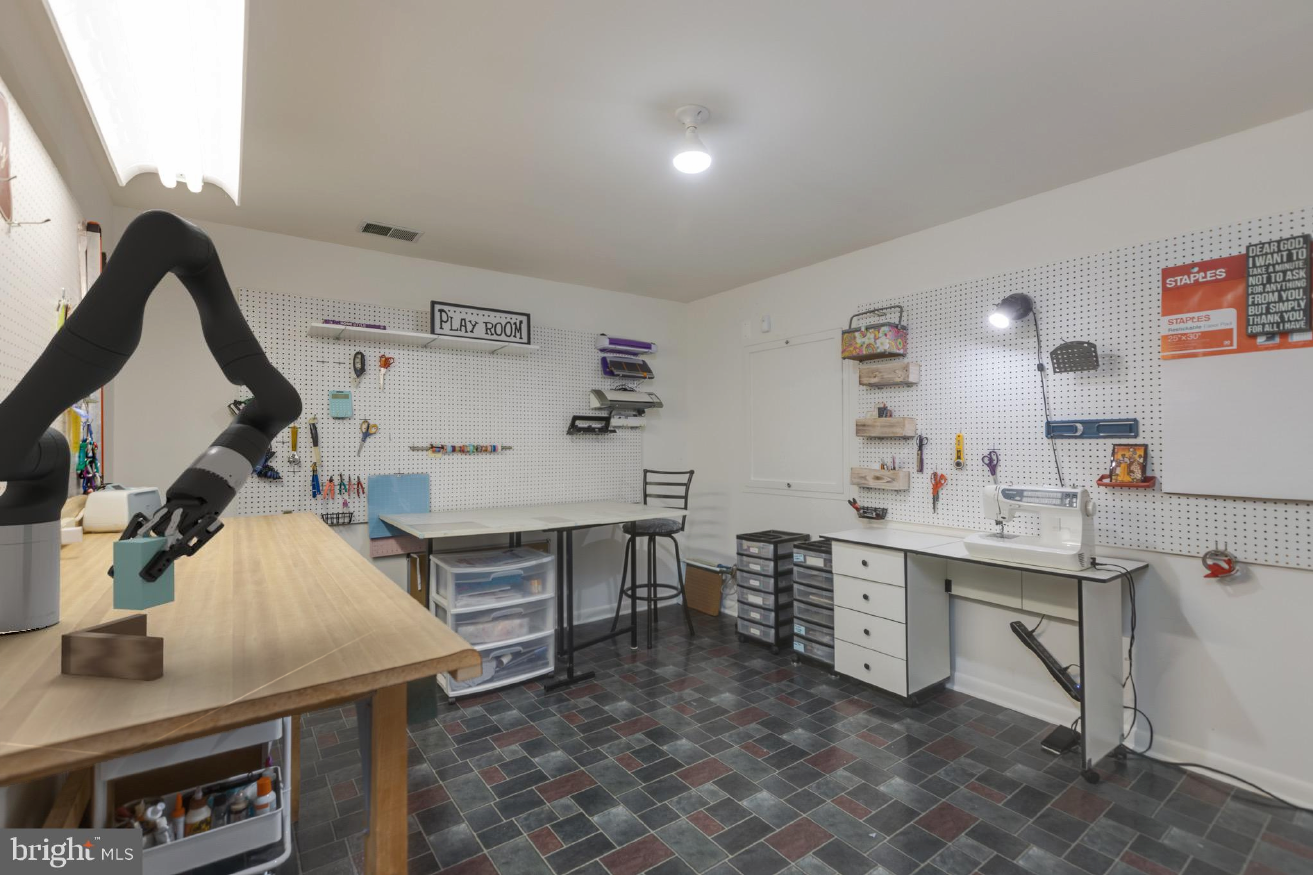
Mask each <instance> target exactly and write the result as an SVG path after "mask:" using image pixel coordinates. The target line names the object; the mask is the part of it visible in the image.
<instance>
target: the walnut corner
mask: <svg viewBox="0 0 1313 875" xmlns="http://www.w3.org/2000/svg"><path fill="white" fill-rule="evenodd" d="M147 621H148V614H147V613H136V614H132V615H127V616H124V617H121V618H117V619H114V620H110V621H107V622H103V623H99V624H96V625H92V626H89V627H85V628H82V629H78V630H75V631H70V632H67V633H64V634H61V638H60V639H61V641H60V642H61V644H60V645H61V647H60V648H61V650H60V651H61V653H60V654H61V655H60V658H61V659H60V673H61V674H66V675H67V674H69V675H80V676H91V677H104V678H105V677H106V678H115V679H126V680H127V679H129V680H140V681H154V680H157V679H159V678H161V677H164V640H165V638H164V637H160V636H149V635H147V632H148V631H147V629H148V628H147V627H148V622H147Z"/></svg>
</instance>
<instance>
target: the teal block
mask: <svg viewBox="0 0 1313 875" xmlns="http://www.w3.org/2000/svg"><path fill="white" fill-rule="evenodd" d="M166 540H167V538H166V537H158V536H153V537H143V538H135V539H132V538H131V539H128V540H122V541H118V540H117V541H113V543H112V546H113V548H112V549H113V550H112V551H113V552H112V558H113V560H112V562H113V564H112V565H113V569H114V576H113V578H112V579H113V584H112V585H113V586H112V587H113V588H112V589H113V590H112V591H113V592H112V594H113V595H112V596H113V597H112V598H113V600H112V601H113V603H112V606H113V608H112V609H113V610H126V611H128V610H131V611H145V610H147V609H151V608H155V607H157V606H161V605H164V604H165V605H166V604H168V603H172V602H175V560H174V561H173V562H172V563H171V564H170V566H169V567H168V568H167V569H166V571H164V573H163V574H162V575H161V576H160V577H159V578H158V579H157V580H156V581H155V582H147V581H145V580H144V579H143V578H141V577H140V576H139V572H140V571H141V570H142V569H143V568H144V567H145V566H146V564H147V563H148V562H149V561H150V560H151V558H152V557H153V556H154V555H155V554H156V553H157V551H161V552H162V550H161V547H162V545H163V543H164V542H165V541H166Z"/></svg>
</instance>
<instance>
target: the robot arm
mask: <svg viewBox="0 0 1313 875" xmlns="http://www.w3.org/2000/svg"><path fill="white" fill-rule="evenodd" d="M168 273H171V274H173V275H174V276H175V277H176V278H177V280H178V281H180V283H181V284H182V285H183V286H184V288H185V289H186V290H187V292H188V293H189V295H190V296H191V298H192V300H193V301H194V303H195V306H196V308H197V311H198V315H199V319H200V320H199V321H200V325H201V330H202V335H203V338H204V340H205V343H206V345H207V347H208V349H209V351H210V353H211V355H212V356H213V358H214V360H215V362H216V363H217V366H218V367H219V368H220V371H221V372H222V373H223V375H224V376H225V378H226V380H227V381H228V382H229V383H230V384H232V385H234V386H241V387H242V386H243V387H244V386H245V387H246V388H247V389H248V390H249V391H250V393H251V394H252V395H253V397H252V398H251V399H250V400H249V401H247V402H246V403H245V404H244V405H243V406H242V408H241V409H240V410H239V411H238V412H237V413H236V415H235V416H234V417H233V419H232V420H231V422H230V423H229V425H228V426H227V428H226V429H224V430H223V431H222V432H221V433H220V434H218V436H217V437H216V438H215V439H214V441H213V442H212V443H210V445H209V446H208V447H207V448H206V449H205V450H204V451H203V452H201V453H200V454H199V455H198V456H197V457H196V458H194V460H193V461H192V462H191V463H190V464H189V465H188V466H187V468H185V469H184V471H183V472H182V473H181V474H180V475H179V477H178V478H177V479H176V480H175V481H174V482H173V483H172V484H171V486H169V487H168V488H167V490H166V491H165V499H166V500H165V502H164V503H165V504H163V505H162V506H161V507H159V508H157V509H156V510H155V511H154V512H153V513H151V514H146V515H145V514H144V513H143V512H142V511H138V512H136V513H135V514H133V516H132V517H131V519H130V520H129V523H128V524H127V526H126V527H125V529H124V531H123V532H122V533H121V535H120V537H119V539H118V540H117V541H122V540H128V539H135V538H143V537H154V535H156V537H166V538H167V540H166V541H165V542H164V543H163V545H162V547H161V550H162V552H161V551H157V553H156V554H155V555H154V556H153V557H152V558H151V560H150V561H149V562H148V563H147V564H146V566H145V567H144V568H143V569H142V570H141V571H140V572H139V576H140V577H141V578H143V579H144V580H145V581H147V582H155V581H156V580H157V579H158V578H159V577H160V576H161V575H162V574H163V573H164V571H166V569H167V568H168V567H169V566H170V564H171V563H172V562H173V561H174V562H175V561H177V560H179V559H181V557H182V556H186V557H188V558H190V557H192V556H194V555H195V554H196V553H197V552H198V551H199V550H200V549H201V548H203V547H204V546H205V545H206V544H207V543H208V542H209V541H210V540H211V539H213V538H214V537H215V536H216V535H217V534H218V533H219V532H220V531H221V530H222V529H223V528H224V527H225V523H223V521H221V519H219V517H220V516H221V515H222V513H223V512H224V511H225V510H226V509H227V507H228V506H229V504H230V503H231V502H232V501H233V500H234V498H235V497H236V496H237V495H238V493H239V492H240V491H241V489H242V488H243V487H244V486H245V484H246V483H247V481H248V479H249V477H250V476H251V474H252V473H253V472H254V470H255V469H256V468H257V467H258V465H259V464H260V463H261V462H262V460H263V459H264V457H265V456H266V455H267V453H268V452H269V449H270V444H271V443H272V442H273V441H274V439H276V437H277V436H278V435H279V434H280V433H281V432H282V431H283V430H284V429H287V427H289V426H290V425H292V424H293V423H294V422H295V421H297V420H298V419H299V418H300V416H301V415H302V412H303V402H302V399H301V398H302V397H301V396H300V394H299V392H298V391H297V389H296V388H295V386H294V385H293V383H291V382H290V381H289V379H287V378H286V377H285V376H284V375H283V374H282V372H280V371H279V370H278V369H277V367H276V366H274V365H273V364H272V363H271V361H270V360H269V358H268V356H267V355H266V352H265V351H264V349H263V347H262V345H261V344H260V342H259V340H258V339H257V337H256V335H255V334H254V332H253V330H252V329H251V327H250V325H249V324H248V322H247V320H246V317H245V316H244V314H243V312H242V310H241V307H240V306H239V304H238V302H237V299H236V298H235V295H234V293H233V290H232V288H231V286H230V283H229V281H228V278H227V276H226V272H225V271H224V268H223V265H222V262H221V259H220V256H219V254H218V251H217V249H216V246H215V244H214V242H213V239H212V238H211V237H210V235H209V234H208V233H207V232H206V231H205V230H204V229H202V228H201V227H199V225H197V224H195V223H193V222H190V221H188V220H187V219H185V218H183V217H181V216H179V215H178V214H175V213H173V212H171V211H169V210H164V209H160V208H159V209H157V208H156V209H155V208H154V209H149V210H145V211H144V212H143V211H142V213H140V214H138V215H137V216H135V217H134V218H133V219H132V220H131V222H130V223H129V224H128V226H127V227H126V229H125V230H124V231H123V234H122V235H121V237H120V238H119V240H118V242H117V244H116V246H115V248H114V250H113V252H112V253H111V256H110V257H109V259H108V261H107V262H106V264H105V266H104V267H103V269H102V270H101V272H100V274H99V275H98V277H97V278H96V279H95V281H94V282H93V283H92V285H91V286H90V288H89V289H88V291H87V292H86V294H85V295H84V296H83V298H82V299H81V301H80V302H79V303H78V304H77V306H76V308H75V309H73V311H72V313H71V314H70V315H69V316H68V317H67V319H66V320H65V321H64V322H63V324H62V325H61V326H60V327H59V329H58V330H57V331H56V333H55V334H54V335H53V337H52V338H51V340H50V341H49V343H48V344H47V346H46V347H45V349H44V350H43V351H42V352H41V355H39V357H38V358H37V360H36V361H35V362H34V363H33V364H32V366H30V368H29V370H27V372H26V373H25V374H24V376H23V377H22V378H21V380H20V381H19V383H17V384H16V386H15V387H14V388H13V389H12V391H10V393H9V394H8V395H7V396H6V397H4V399H3V400H2V401H1V403H0V482H1V483H6V486H5V489H4V491H3V492H2V494H1V495H0V632H9V631H22V630H28V629H35V630H37V629H36V628H39V629H43V628H45V627H46V626H47V627H51V626H52V625H55V624H57V623H59V622H60V607H61V606H60V605H61V601H60V600H61V556H62V555H61V553H62V552H61V551H62V550H61V546H62V545H61V544H62V540H61V538H62V536H61V531H62V530H61V529H62V526H61V525H62V510H63V509H64V507H65V505H66V503H67V500H68V497H69V487H70V486H69V485H70V475H71V474H70V473H71V462H72V458H71V457H72V456H71V448H70V445H69V441H68V440H67V438H66V436H65V435H64V434H63V433H62V432H61V431H59V430H58V429H56V428H54V427H51V426H52V425H53V423H54V422H55V421H56V420H57V418H58V417H60V416H61V415H62V414H63V413H64V412H65V411H67V410H68V409H70V408H71V407H73V406H74V405H75V404H77V403H79V402H80V401H82V400H84V399H85V398H88V396H91V395H92V394H93V393H95V392H97V391H99V389H102V388H103V387H105V386H106V385H107V384H109V383H110V382H111V381H112V380H113V379H115V377H117V375H118V374H119V373H120V372H121V371H122V369H123V367H124V366H125V365H126V363H127V362H128V361H129V360H130V358H131V357H132V356H133V355H134V353H135V352H136V350H137V348H138V346H139V344H140V342H141V337H142V332H143V327H144V326H143V325H144V315H145V310H146V306H147V303H148V300H149V298H150V297H151V295H152V293H153V291H154V290H155V289H156V287H157V286H158V285H159V284H160V283H161V281H162V279H163V278H164V277H165V276H166V275H167V274H168ZM151 532H152V533H153V534H154V535H152V534H151ZM194 539H196V541H195V542H194V543H193V540H194ZM192 543H193V544H192ZM107 576H108V577H110V578H112V579H113V576H114V569H113V564H112V565H111V566H110V567H109V569H108V570H107Z"/></svg>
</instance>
